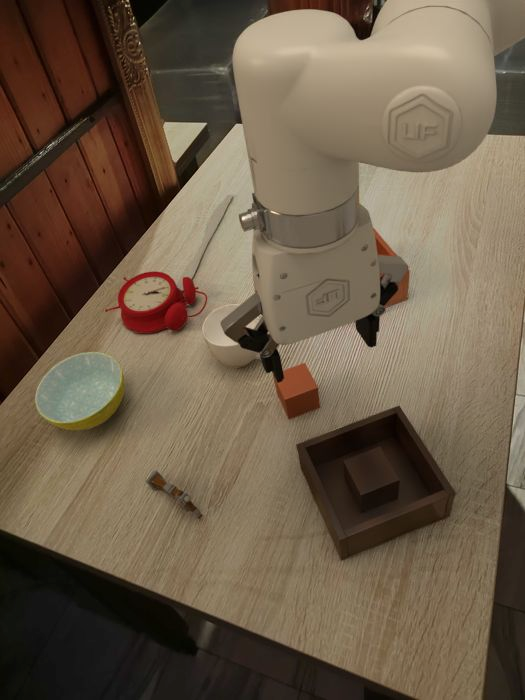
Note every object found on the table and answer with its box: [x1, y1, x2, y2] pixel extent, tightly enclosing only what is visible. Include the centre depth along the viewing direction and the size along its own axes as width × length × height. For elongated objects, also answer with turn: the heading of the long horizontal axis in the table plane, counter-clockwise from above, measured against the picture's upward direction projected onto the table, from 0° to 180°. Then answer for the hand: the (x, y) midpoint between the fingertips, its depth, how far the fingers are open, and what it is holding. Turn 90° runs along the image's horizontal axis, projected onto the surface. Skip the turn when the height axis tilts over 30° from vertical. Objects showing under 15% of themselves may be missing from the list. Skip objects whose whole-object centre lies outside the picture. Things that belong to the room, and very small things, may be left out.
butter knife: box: [176, 194, 234, 292], centre depth 95 cm, size 1×27×3 cm
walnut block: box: [343, 446, 400, 513], centre depth 58 cm, size 4×4×4 cm
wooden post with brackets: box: [145, 469, 204, 520], centre depth 62 cm, size 2×8×4 cm, turn 51°
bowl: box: [34, 351, 125, 431], centre depth 71 cm, size 11×12×6 cm
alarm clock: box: [104, 270, 208, 334], centre depth 83 cm, size 10×6×15 cm
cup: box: [201, 303, 261, 369], centre depth 73 cm, size 8×10×7 cm
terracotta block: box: [272, 362, 321, 420], centre depth 68 cm, size 4×4×4 cm
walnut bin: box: [295, 405, 457, 561], centre depth 58 cm, size 13×12×6 cm
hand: (321, 354), depth 53 cm, fingers open, 9 cm apart
